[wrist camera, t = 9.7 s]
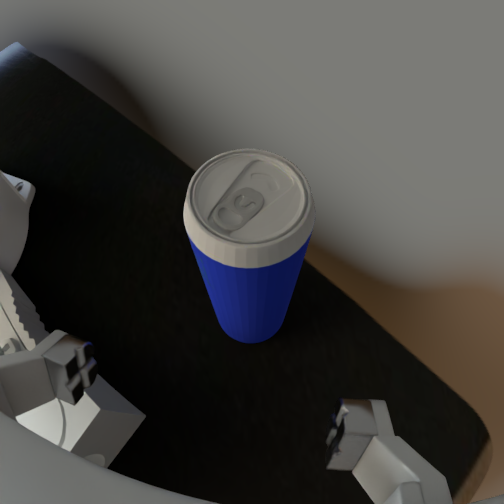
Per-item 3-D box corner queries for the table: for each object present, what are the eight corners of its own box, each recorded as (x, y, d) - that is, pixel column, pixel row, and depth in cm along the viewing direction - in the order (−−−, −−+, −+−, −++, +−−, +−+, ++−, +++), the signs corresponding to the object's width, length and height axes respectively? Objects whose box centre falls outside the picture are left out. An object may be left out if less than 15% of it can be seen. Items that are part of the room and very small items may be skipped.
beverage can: (245, 270, 27) (239, 127, 13) (297, 306, 25) (344, 184, 12) (204, 317, 25) (150, 203, 12) (256, 358, 23) (262, 286, 10)
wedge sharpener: (79, 503, 17) (33, 521, 11) (-38, 351, 22) (-83, 331, 16) (146, 416, 21) (108, 416, 15) (11, 275, 26) (-30, 243, 20)
